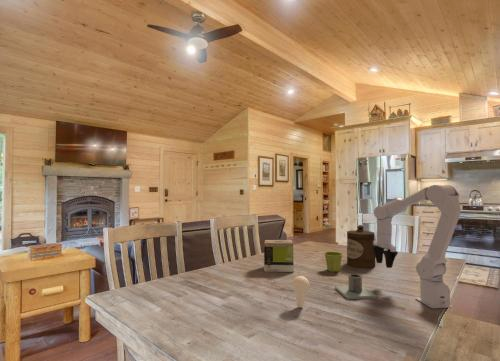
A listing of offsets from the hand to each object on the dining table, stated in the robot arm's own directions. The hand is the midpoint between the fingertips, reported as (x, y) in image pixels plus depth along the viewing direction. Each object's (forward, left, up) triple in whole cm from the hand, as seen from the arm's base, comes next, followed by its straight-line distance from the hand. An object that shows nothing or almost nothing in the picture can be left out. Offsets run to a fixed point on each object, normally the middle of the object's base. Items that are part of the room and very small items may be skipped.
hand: (384, 265), depth 127 cm
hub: (-6, +16, -8) cm, 19 cm away
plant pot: (+27, +12, -10) cm, 31 cm away
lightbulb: (-18, +42, -10) cm, 47 cm away
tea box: (+31, +40, -10) cm, 52 cm away
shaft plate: (-6, +16, -9) cm, 20 cm away
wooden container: (+37, -8, -10) cm, 39 cm away
